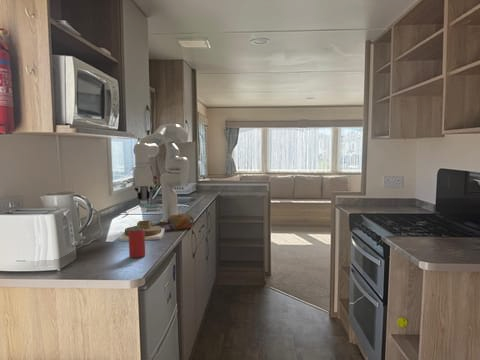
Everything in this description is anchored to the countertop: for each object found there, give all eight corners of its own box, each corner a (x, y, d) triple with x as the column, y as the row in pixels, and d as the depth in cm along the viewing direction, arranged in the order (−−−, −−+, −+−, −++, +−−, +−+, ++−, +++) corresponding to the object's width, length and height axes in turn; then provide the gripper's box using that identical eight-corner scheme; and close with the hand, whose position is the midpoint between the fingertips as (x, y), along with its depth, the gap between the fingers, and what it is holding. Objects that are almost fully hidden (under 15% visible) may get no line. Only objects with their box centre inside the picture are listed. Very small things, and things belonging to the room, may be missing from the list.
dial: (128, 229, 201) (128, 221, 200) (163, 227, 203) (162, 220, 202) (121, 237, 182) (120, 228, 181) (159, 235, 184) (158, 226, 183)
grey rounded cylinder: (141, 203, 199) (140, 185, 198) (147, 203, 199) (147, 185, 198) (140, 204, 195) (139, 186, 194) (146, 204, 195) (146, 186, 195)
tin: (167, 230, 206) (167, 215, 205) (167, 228, 209) (166, 214, 208) (193, 228, 210) (193, 213, 209) (193, 227, 213) (192, 213, 212)
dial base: (127, 232, 202) (127, 229, 201) (165, 230, 204) (165, 227, 204) (118, 241, 181) (118, 237, 181) (160, 239, 183) (160, 236, 183)
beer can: (146, 254, 156) (145, 227, 155) (143, 258, 150) (142, 230, 149) (131, 254, 156) (130, 227, 155) (127, 258, 150) (126, 230, 149)
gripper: (155, 165, 203) (156, 197, 204) (125, 166, 194) (126, 199, 196) (159, 165, 197) (160, 198, 198) (129, 166, 188) (130, 201, 189)
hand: (143, 198), depth 197 cm, fingers closed on grey rounded cylinder, 3 cm apart
